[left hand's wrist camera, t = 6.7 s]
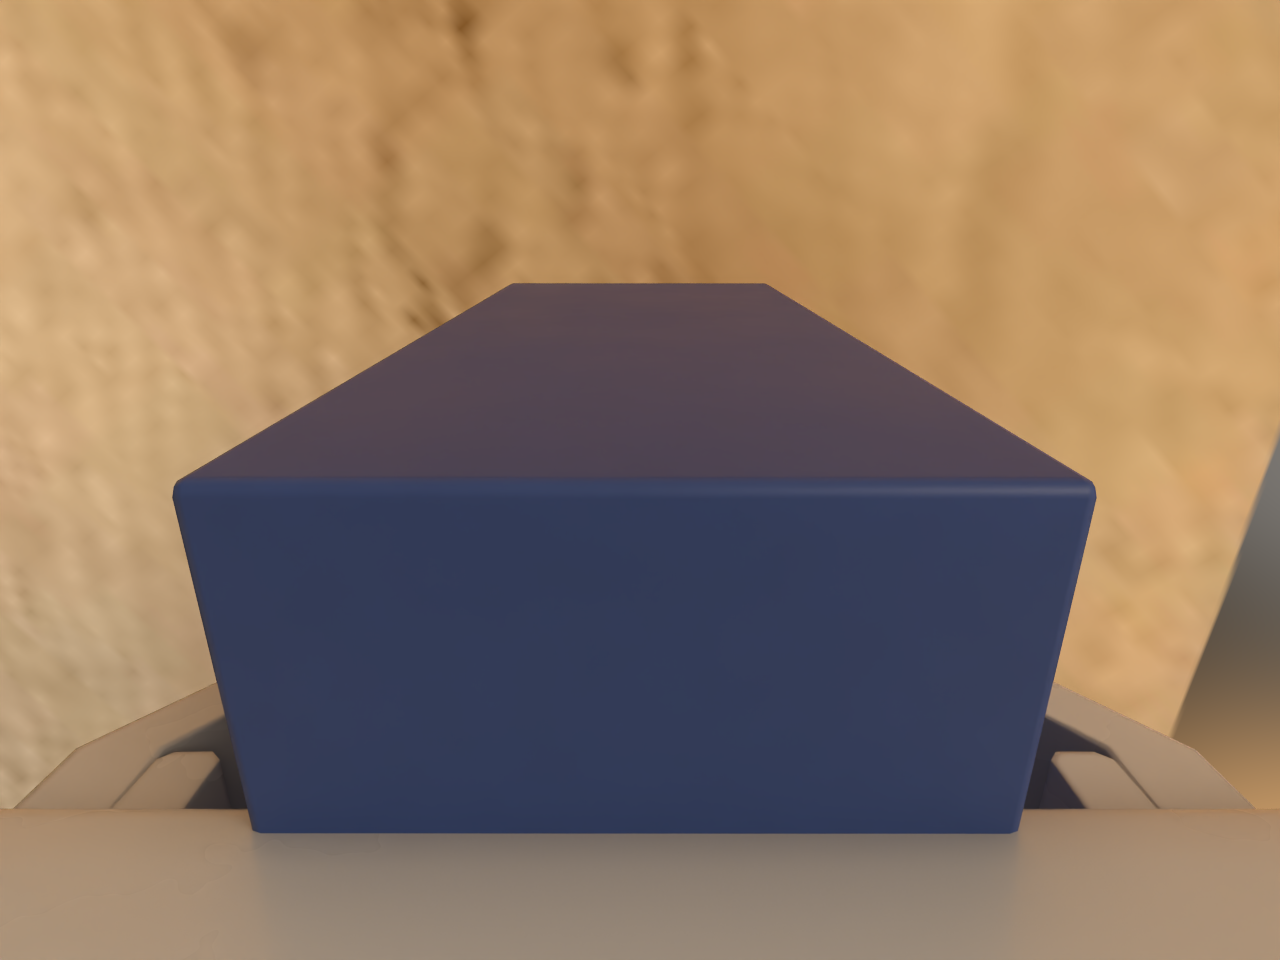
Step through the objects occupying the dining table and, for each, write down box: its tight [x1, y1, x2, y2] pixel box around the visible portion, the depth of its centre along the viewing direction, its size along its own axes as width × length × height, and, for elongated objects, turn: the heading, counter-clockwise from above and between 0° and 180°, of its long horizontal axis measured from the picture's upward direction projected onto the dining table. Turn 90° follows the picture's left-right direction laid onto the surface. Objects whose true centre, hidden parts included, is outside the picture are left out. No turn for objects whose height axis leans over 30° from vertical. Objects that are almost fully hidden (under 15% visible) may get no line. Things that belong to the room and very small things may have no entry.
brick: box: [172, 283, 1096, 834], centre depth 11 cm, size 5×8×11 cm, turn 0°
